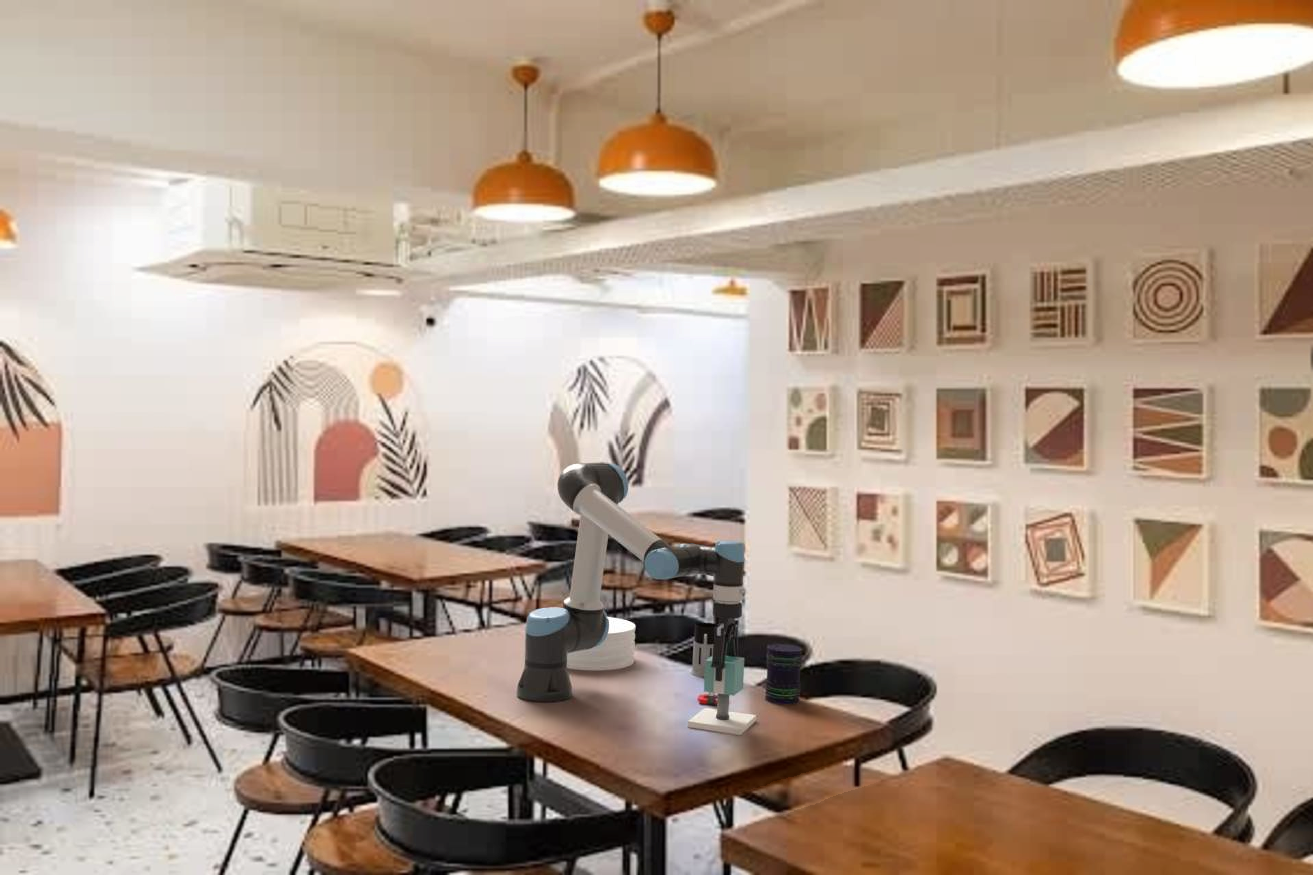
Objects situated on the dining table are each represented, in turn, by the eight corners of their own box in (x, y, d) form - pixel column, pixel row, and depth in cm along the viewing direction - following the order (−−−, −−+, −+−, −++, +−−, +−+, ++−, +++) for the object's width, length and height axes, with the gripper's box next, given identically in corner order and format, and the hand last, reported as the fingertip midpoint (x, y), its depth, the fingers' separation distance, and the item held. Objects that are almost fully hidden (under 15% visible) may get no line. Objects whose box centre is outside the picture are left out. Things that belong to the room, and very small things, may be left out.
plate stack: (650, 659, 347) (652, 624, 347) (600, 675, 323) (601, 637, 323) (580, 646, 362) (582, 612, 362) (527, 660, 338) (528, 624, 338)
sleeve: (703, 691, 275) (705, 660, 275) (713, 684, 283) (715, 654, 282) (734, 695, 272) (735, 664, 272) (742, 688, 280) (744, 657, 280)
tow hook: (699, 697, 305) (695, 704, 296) (702, 651, 305) (698, 656, 296) (729, 699, 304) (726, 706, 294) (731, 653, 304) (728, 659, 295)
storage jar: (806, 700, 304) (809, 648, 304) (786, 706, 297) (788, 652, 296) (778, 693, 311) (780, 641, 310) (757, 698, 304) (759, 646, 303)
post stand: (687, 726, 274) (689, 691, 273) (704, 713, 287) (706, 679, 286) (740, 735, 269) (742, 699, 268) (755, 720, 282) (757, 686, 282)
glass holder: (719, 671, 334) (722, 623, 334) (717, 682, 320) (720, 632, 320) (691, 669, 335) (693, 621, 335) (688, 680, 321) (690, 630, 321)
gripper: (729, 608, 266) (726, 700, 266) (752, 596, 285) (749, 682, 286) (701, 605, 269) (697, 696, 269) (725, 594, 288) (722, 678, 288)
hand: (724, 689), depth 277 cm, fingers closed on sleeve, 8 cm apart
